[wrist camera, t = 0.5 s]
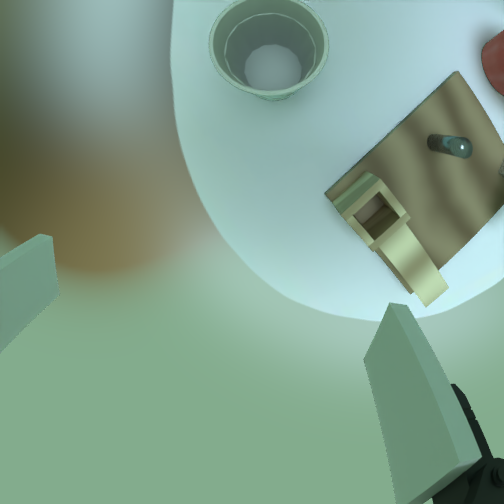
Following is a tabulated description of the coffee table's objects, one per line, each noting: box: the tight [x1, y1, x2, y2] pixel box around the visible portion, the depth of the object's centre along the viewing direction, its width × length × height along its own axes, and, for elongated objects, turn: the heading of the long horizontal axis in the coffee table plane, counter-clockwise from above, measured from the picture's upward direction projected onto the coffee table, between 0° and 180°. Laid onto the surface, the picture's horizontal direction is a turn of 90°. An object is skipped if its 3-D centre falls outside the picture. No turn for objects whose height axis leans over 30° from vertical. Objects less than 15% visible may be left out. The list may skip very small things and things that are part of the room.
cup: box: [209, 0, 329, 100], centre depth 22 cm, size 8×8×12 cm
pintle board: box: [325, 71, 504, 294], centre depth 29 cm, size 22×17×1 cm
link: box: [332, 171, 449, 307], centre depth 30 cm, size 15×5×5 cm, turn 46°
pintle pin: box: [427, 134, 473, 159], centre depth 24 cm, size 2×2×6 cm
